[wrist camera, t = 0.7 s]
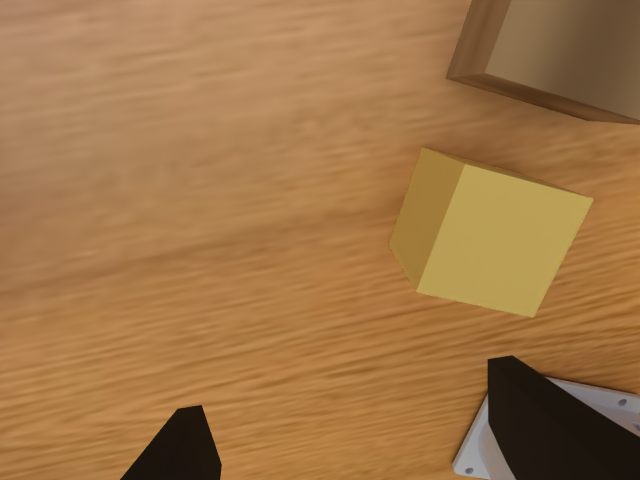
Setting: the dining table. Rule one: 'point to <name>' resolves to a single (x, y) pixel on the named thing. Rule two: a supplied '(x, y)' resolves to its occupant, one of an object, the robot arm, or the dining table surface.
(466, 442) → the robot arm
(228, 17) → the dining table surface
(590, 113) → the walnut base
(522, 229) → the mustard brick
